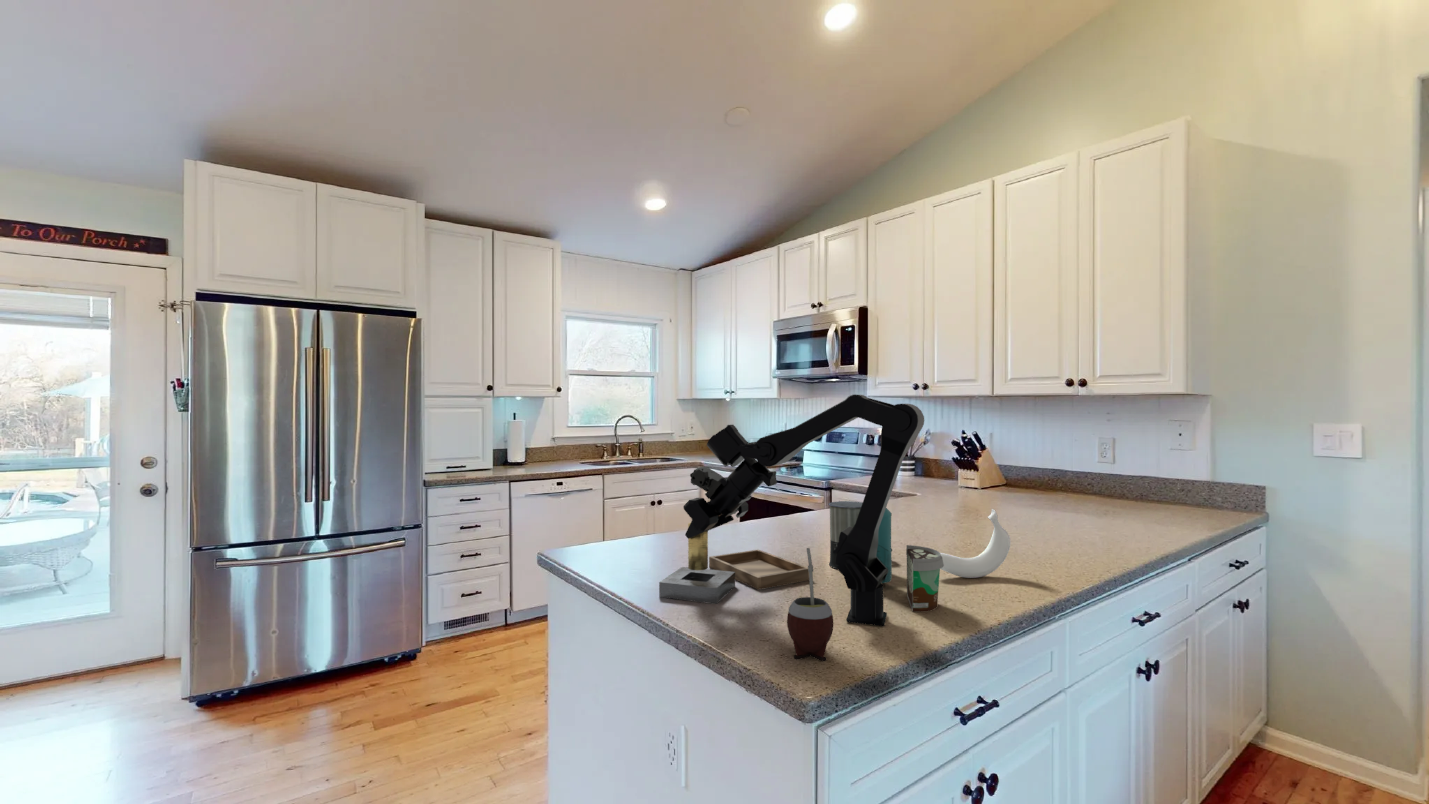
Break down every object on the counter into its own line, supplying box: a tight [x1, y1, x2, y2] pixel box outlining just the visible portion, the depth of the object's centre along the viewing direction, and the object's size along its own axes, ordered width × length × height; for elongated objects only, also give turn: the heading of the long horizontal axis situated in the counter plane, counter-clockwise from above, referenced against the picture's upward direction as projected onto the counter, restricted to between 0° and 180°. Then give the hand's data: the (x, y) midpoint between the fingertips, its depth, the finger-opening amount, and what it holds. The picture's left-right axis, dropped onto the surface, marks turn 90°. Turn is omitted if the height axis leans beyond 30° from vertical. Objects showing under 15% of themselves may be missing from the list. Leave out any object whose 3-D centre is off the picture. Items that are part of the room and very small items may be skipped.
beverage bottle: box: [876, 507, 893, 584], centre depth 129 cm, size 6×7×20 cm
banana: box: [940, 508, 1011, 579], centre depth 135 cm, size 5×19×15 cm, turn 100°
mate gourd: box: [786, 547, 834, 663], centre depth 94 cm, size 8×8×15 cm
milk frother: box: [828, 500, 893, 570], centre depth 147 cm, size 14×16×15 cm
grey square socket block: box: [658, 566, 736, 605], centre depth 125 cm, size 12×12×3 cm
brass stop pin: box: [687, 522, 709, 570], centre depth 125 cm, size 4×4×9 cm
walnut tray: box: [708, 549, 809, 591], centre depth 138 cm, size 20×14×2 cm
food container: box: [905, 544, 944, 613], centre depth 117 cm, size 12×6×10 cm, turn 168°
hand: (692, 534), depth 125 cm, fingers closed on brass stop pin, 4 cm apart
